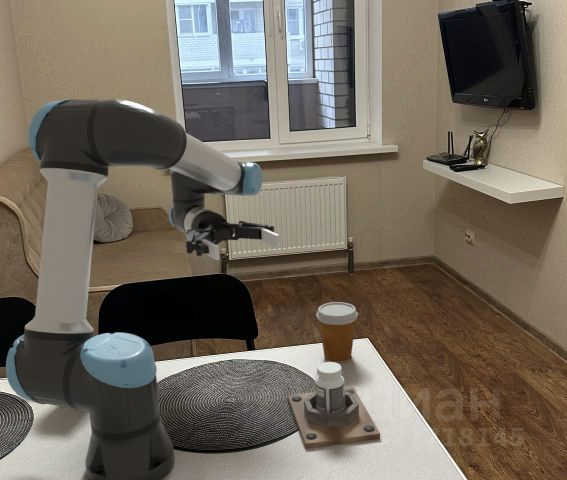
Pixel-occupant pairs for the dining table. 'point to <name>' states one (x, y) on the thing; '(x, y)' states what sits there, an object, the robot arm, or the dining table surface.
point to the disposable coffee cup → (337, 330)
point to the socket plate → (332, 421)
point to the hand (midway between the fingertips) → (248, 247)
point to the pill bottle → (330, 388)
